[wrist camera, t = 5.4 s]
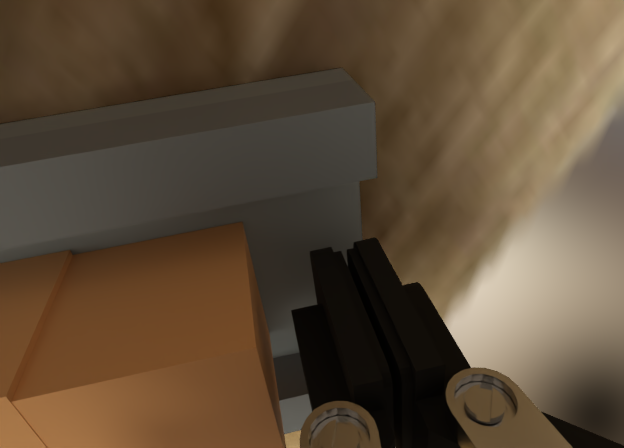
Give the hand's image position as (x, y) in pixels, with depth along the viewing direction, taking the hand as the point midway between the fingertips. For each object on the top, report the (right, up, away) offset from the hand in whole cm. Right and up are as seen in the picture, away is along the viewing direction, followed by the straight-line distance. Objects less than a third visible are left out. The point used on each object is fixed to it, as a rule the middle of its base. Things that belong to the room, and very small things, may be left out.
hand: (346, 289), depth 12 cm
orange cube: (-4, 0, 0) cm, 4 cm away
